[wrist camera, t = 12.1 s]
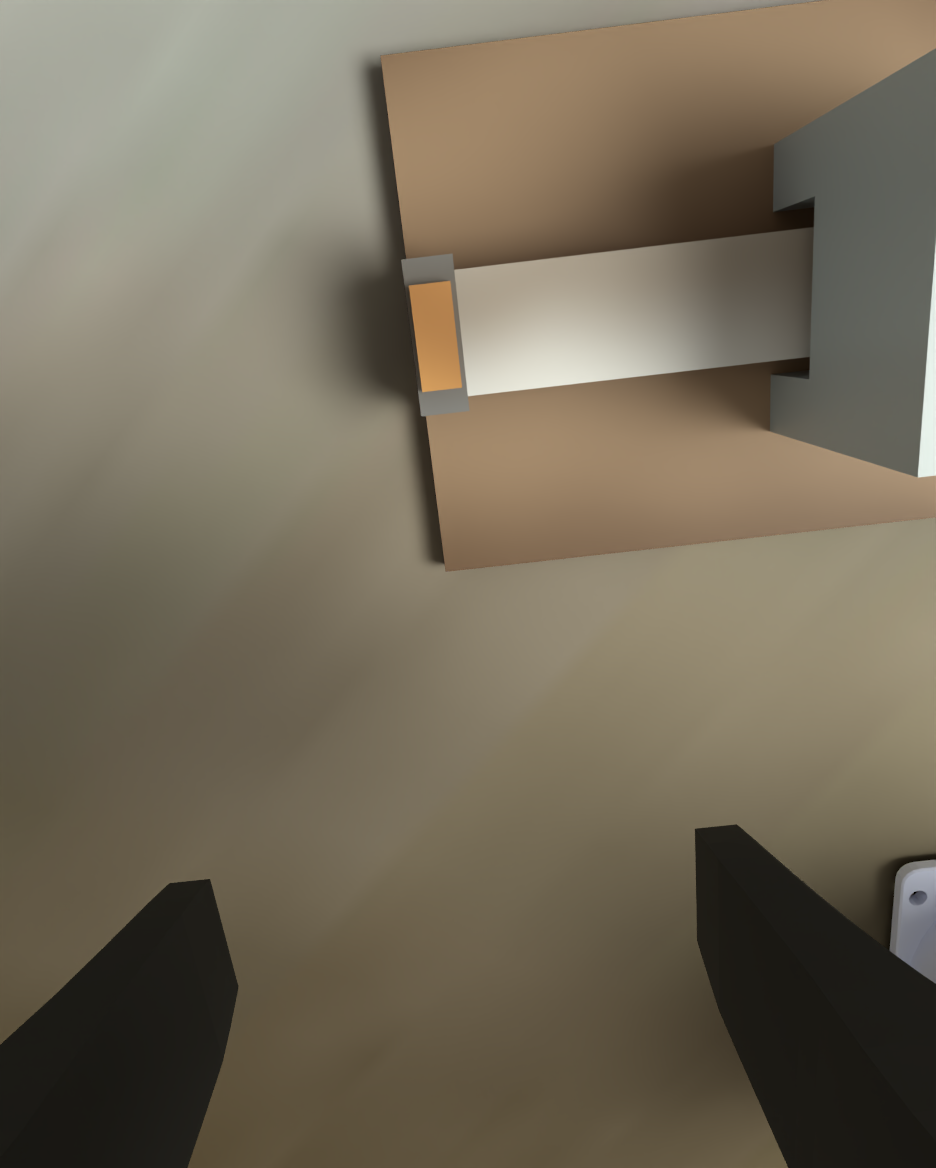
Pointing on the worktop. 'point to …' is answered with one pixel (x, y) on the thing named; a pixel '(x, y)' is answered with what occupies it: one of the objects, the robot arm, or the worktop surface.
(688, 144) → the rail mount
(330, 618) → the worktop surface
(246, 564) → the worktop surface
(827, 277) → the block
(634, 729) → the worktop surface
